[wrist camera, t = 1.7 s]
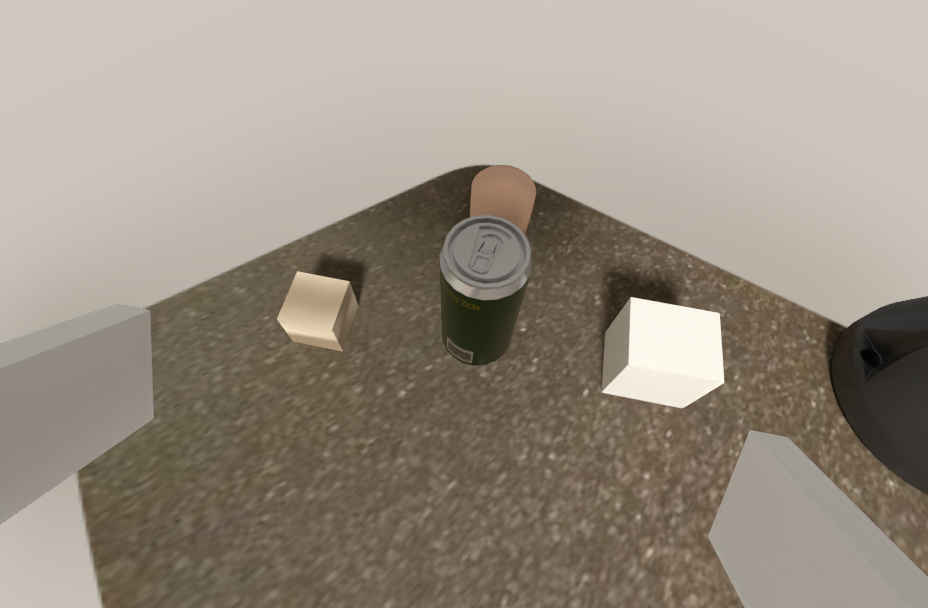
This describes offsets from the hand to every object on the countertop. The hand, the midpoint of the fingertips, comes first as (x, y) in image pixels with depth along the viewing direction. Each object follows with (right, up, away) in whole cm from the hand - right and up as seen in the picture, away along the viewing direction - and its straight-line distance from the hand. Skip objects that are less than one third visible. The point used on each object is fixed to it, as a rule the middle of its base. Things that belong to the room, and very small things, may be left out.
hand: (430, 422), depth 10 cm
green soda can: (+2, 0, +27) cm, 27 cm away
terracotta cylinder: (+4, +9, +31) cm, 33 cm away
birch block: (-10, +1, +27) cm, 29 cm away
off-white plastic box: (+14, -2, +26) cm, 30 cm away
